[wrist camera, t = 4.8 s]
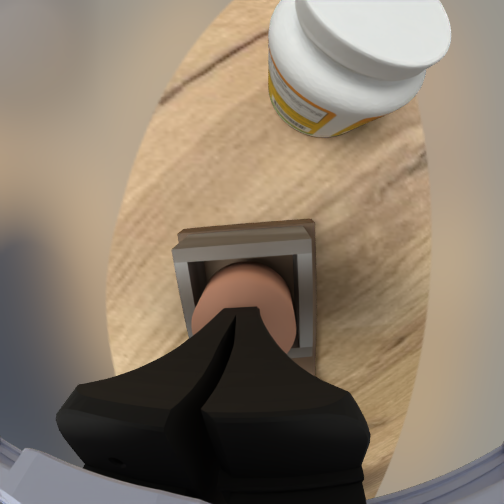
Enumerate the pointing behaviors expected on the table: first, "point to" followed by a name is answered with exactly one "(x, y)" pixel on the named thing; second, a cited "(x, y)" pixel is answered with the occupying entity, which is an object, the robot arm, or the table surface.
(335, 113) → the supplement bottle
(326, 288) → the table surface
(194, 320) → the tan rounded dome
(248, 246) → the panel
